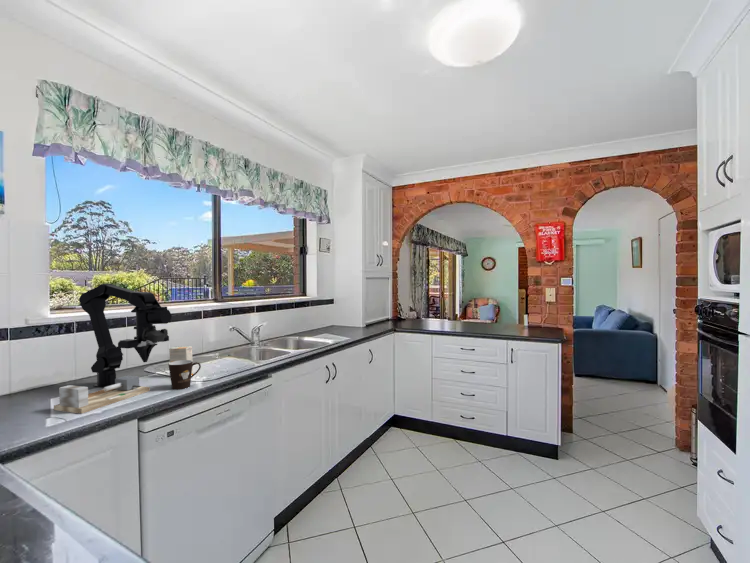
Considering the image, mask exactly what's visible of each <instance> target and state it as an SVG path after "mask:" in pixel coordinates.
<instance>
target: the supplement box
mask: <svg viewBox="0 0 750 563" xmlns="http://www.w3.org/2000/svg"><path fill="white" fill-rule="evenodd" d="M168 350H169V353H168V354H169V363H170V362H174V361H180V360H192V361H193V363H194V360H193V346H189V345H187V346H182V345H181V346H173V347H169V348H168ZM193 363H192V364H193ZM193 374H194V365H193V366H192V373H191V375H193Z"/></svg>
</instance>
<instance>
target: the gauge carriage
mask: <svg viewBox="0 0 750 563" xmlns="http://www.w3.org/2000/svg"><path fill="white" fill-rule="evenodd" d="M140 386H141V385H140V376H139V375H138V376H137V375H125V376H121V377H120V376H119V377H116V379H115V384H114V385H110V386H107V387H103V389H104V391H109V390H112V389H116V390H130V389H134V388H137V387H140Z"/></svg>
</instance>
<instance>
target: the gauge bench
mask: <svg viewBox="0 0 750 563" xmlns="http://www.w3.org/2000/svg"><path fill="white" fill-rule="evenodd" d="M139 386H140V387H137V388H134V389H130V390H116V389H112V390H109V391H104V388H102V389H99V390H97V391H93V392H89V387H88V386H80V385H72V384H71V385H70V384H69V385H68V384H67V385H65V386H60V387H59V388H58V391H59V393H58V394H59V396H58V397H59V398H58V399H59V404H55V405H53V410H54V411H60V412H66V413H73V414H74V413H76V414H86V413H87V412H90V411H94V410H96V409H99V408H100V409H101V408H103V407H105V406H109V405H112V404H115V403H117V402H120V401H123V400H127V399H130V398H132V397H136V396H138V395H142V394H145V393H147V392H150V389H151V388H150V386H141V385H139Z"/></svg>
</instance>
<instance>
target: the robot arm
mask: <svg viewBox="0 0 750 563" xmlns="http://www.w3.org/2000/svg"><path fill="white" fill-rule="evenodd" d="M111 297H115V298H118V299H121V300H124V301H127V302H128V303H129V304H130V305H132V306H134V308H133V309H132V310H130V312H131V313H132V314H133V313H135V326H133V330H135V331H136V332H135V333H136V334H135V335H136V336H133V338H132V339H131V338H129V339H123V340H119V341H118V343H117V346H116V345H115V344H114V342H113V339H112V336H111V335H112V334H111V332H110V329H109V326H108V321H107V319H106V318H107V317H106V315H105V312H104V311H105V309H106V307H107V306H106V305H107V303H106V302H107V300H108V299H110V298H111ZM78 302H79V304H80V306H81V308H82V310H83V311H84V312H86V313H87V314H88V315H89V319H90V323H91V326H92V329H93V333H94V336H95V339H96V343H97V347H98V349H97V351H96V354H95V357H96V360H95V362H94V363H93V364H92V366H91V367H90V369H91V372H92V373H96V382H97V383H96V384H93V387H97V388H98V387H99V388H104V387H107V386H110V385H114V384H115V379H116V378H117V373H116V369H120V368H121V364H122V361H124V358H123V356H124V353H123V352H122V349H134V350H135V352H137V354H138V355H139V357H140V359H141V360H142V362H143V363H147V362H148V360H149V358H150V355H151V352H152V350H153V348H155V347H156V346H157V345H158V343H160V342H161V343H163V342H164V343H165V342H169V341H170V336H169V333H168V329H167V328H161V329H157V328H156V327H157V326H156V325H157V324H158V325H160V324H161V325H163V324H164V325H166V324H169V323H170V321H171V319H172V314H171V311H170V310H169V309H168V306H161V304H160V303H159V301H158V300H157V298H156V297H155V294H154V293H153V292H152V291H151V292H148V291H135V290H132V289H129V288H128V289H127V288H124V287H121V286H118V285H116V284H115V285H114V284H113V283H101V284H99V285H97V287H94V288H92V289H89V290H87V291H86V292H83V293H81V295H80V297H79V299H78ZM155 324H156V325H155Z"/></svg>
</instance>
